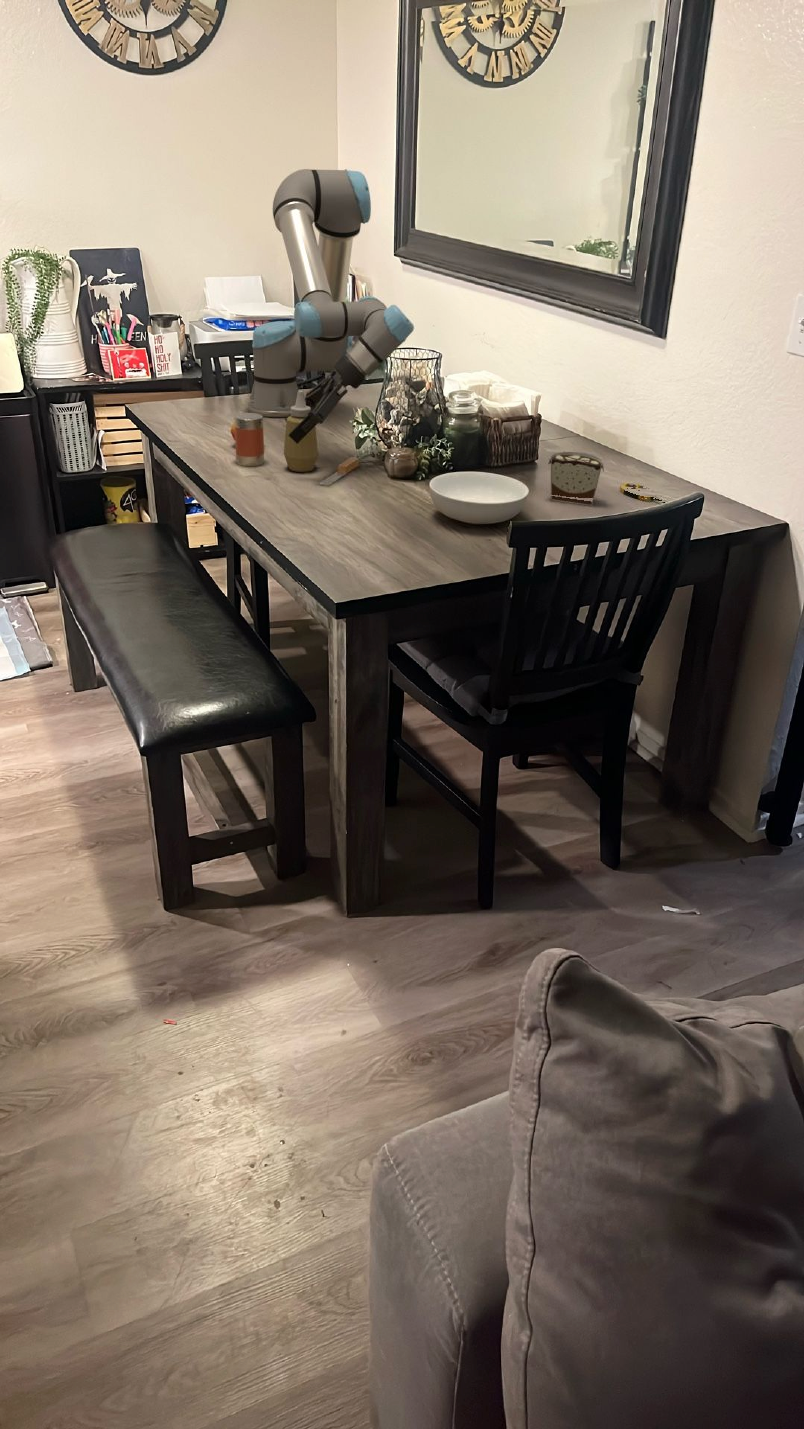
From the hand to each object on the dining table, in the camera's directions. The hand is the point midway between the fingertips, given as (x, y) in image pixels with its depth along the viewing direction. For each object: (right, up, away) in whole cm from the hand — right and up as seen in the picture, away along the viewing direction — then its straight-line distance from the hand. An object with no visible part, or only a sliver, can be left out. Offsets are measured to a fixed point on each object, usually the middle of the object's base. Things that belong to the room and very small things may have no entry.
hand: (290, 431), depth 247 cm
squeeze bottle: (+2, -8, +5) cm, 9 cm away
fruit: (-13, +1, +20) cm, 23 cm away
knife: (+11, -10, +2) cm, 15 cm away
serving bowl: (+42, -24, -21) cm, 52 cm away
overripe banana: (+81, -17, -5) cm, 83 cm away
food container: (+65, -17, -7) cm, 67 cm away
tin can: (-11, -5, +8) cm, 14 cm away
